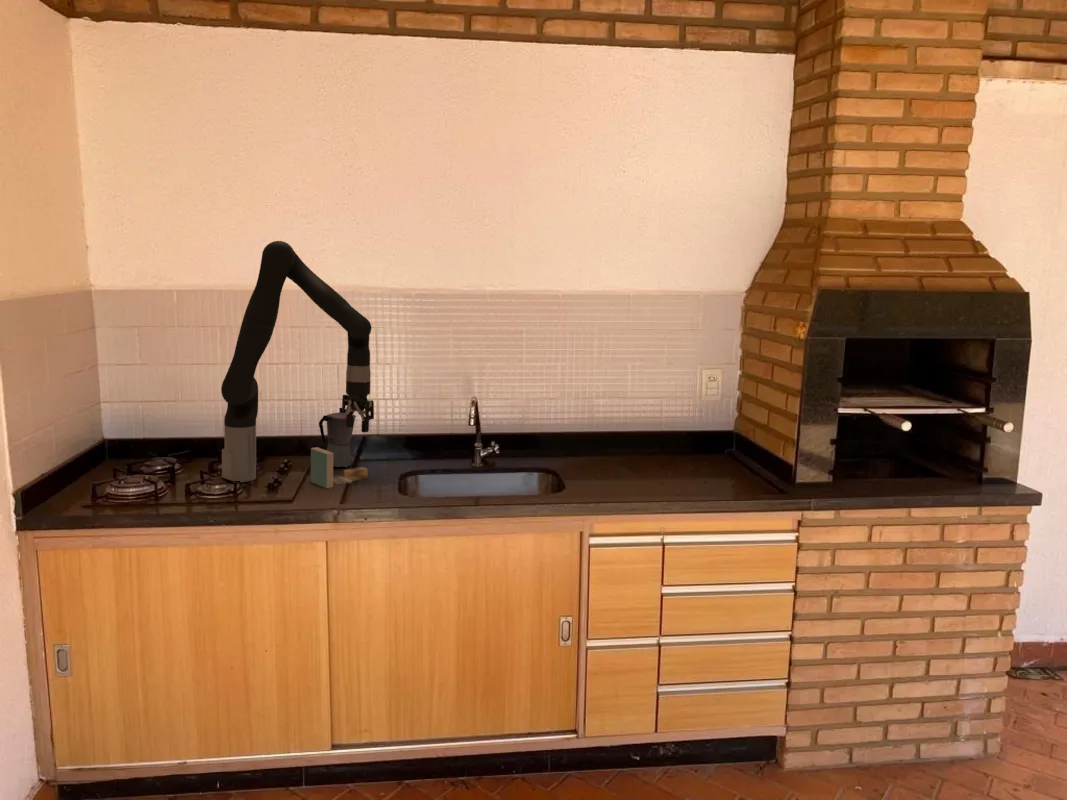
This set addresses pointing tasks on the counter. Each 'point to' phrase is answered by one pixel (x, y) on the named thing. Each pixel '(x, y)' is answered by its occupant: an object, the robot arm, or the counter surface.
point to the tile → (322, 467)
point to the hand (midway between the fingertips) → (357, 429)
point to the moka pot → (338, 437)
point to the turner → (352, 475)
